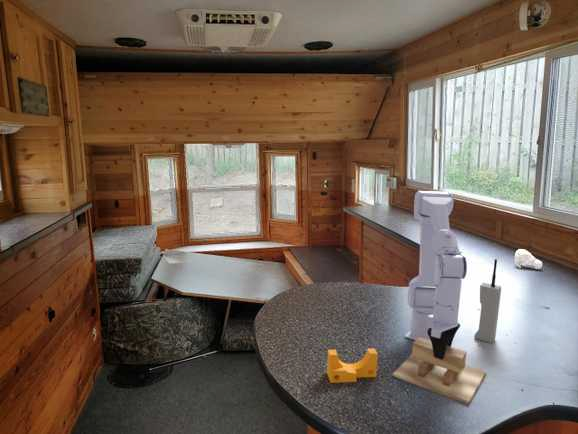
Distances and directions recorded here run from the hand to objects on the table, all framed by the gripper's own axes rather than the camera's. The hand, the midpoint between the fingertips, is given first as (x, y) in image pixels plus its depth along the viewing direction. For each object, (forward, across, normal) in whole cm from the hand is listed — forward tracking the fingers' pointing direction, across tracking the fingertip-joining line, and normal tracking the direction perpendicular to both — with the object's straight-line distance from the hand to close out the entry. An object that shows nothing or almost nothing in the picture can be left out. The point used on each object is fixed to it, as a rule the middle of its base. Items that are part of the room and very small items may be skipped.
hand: (441, 354), depth 104 cm
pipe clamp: (+6, +14, -17) cm, 23 cm away
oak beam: (+2, 0, -1) cm, 2 cm away
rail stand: (+6, 0, 0) cm, 6 cm away
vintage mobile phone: (+6, -29, +5) cm, 30 cm away
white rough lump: (+6, -122, +5) cm, 122 cm away
